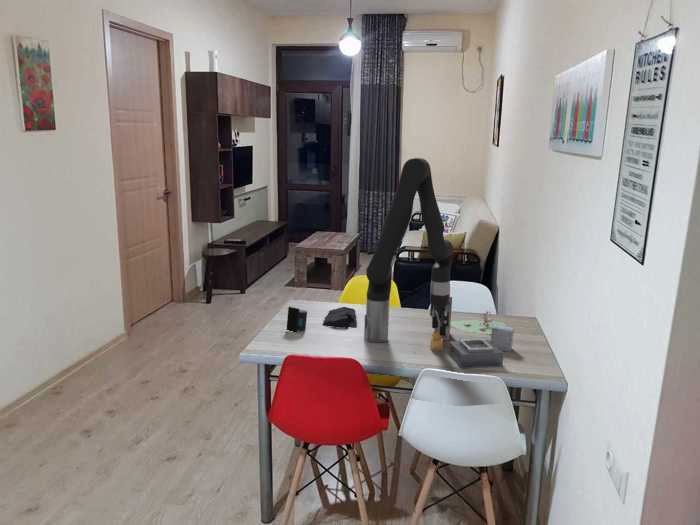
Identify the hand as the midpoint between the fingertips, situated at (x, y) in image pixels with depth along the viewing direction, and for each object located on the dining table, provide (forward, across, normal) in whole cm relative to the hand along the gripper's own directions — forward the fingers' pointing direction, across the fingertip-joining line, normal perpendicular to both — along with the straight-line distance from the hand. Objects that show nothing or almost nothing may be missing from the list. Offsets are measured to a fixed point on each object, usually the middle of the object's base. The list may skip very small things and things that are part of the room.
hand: (438, 331), depth 218 cm
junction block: (+7, +13, +10) cm, 18 cm away
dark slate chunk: (+6, -39, -32) cm, 51 cm away
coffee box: (+7, -13, +6) cm, 16 cm away
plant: (+8, -23, +26) cm, 36 cm away
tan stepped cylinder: (+7, 0, -1) cm, 7 cm away
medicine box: (+8, +3, +25) cm, 27 cm away
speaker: (+6, -28, -52) cm, 60 cm away
